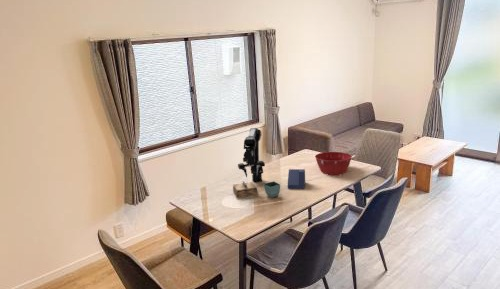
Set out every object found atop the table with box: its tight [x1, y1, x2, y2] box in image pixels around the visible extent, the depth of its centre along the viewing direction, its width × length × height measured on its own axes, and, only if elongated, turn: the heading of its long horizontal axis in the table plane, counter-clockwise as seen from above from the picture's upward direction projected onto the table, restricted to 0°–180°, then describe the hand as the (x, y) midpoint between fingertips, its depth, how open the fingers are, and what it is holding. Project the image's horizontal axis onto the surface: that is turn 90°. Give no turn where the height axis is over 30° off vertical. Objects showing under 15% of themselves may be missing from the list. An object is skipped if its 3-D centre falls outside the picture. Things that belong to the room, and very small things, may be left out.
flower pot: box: [263, 181, 281, 198], centre depth 253 cm, size 9×9×9 cm
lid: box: [232, 181, 258, 191], centre depth 261 cm, size 14×13×3 cm
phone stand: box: [287, 168, 306, 190], centre depth 267 cm, size 12×12×12 cm
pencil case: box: [232, 185, 258, 199], centre depth 262 cm, size 15×13×4 cm
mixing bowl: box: [314, 151, 353, 176], centre depth 291 cm, size 28×28×15 cm
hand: (251, 176), depth 261 cm, fingers open, 8 cm apart
